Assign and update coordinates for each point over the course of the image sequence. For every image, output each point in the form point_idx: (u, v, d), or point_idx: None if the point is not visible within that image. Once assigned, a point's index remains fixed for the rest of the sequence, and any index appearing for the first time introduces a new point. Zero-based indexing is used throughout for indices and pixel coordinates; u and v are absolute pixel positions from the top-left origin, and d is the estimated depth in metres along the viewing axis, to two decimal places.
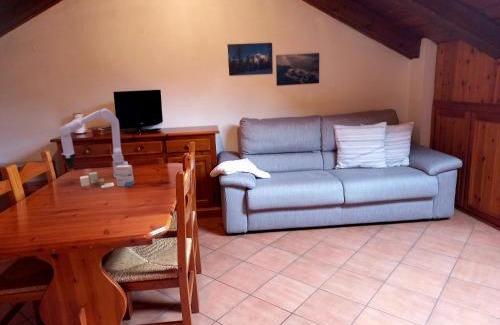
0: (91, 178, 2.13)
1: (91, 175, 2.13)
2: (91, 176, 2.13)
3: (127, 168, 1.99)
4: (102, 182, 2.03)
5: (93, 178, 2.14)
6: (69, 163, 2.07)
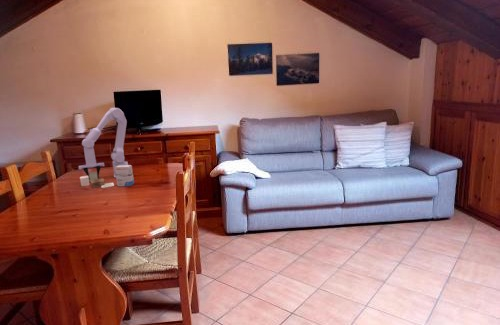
0: (91, 178, 2.13)
1: (91, 175, 2.13)
2: (91, 176, 2.13)
3: (127, 168, 1.98)
4: (102, 182, 2.03)
5: (93, 178, 2.14)
6: None
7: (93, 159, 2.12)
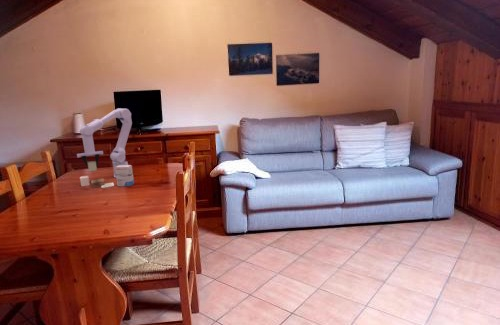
0: (90, 167, 2.09)
1: (90, 164, 2.09)
2: (90, 165, 2.09)
3: (127, 168, 1.98)
4: (102, 182, 2.03)
5: (92, 167, 2.10)
6: None
7: (92, 147, 2.07)
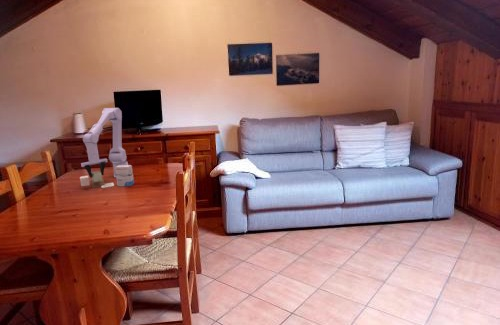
0: (96, 177, 2.02)
1: (95, 174, 2.02)
2: (96, 175, 2.02)
3: (127, 168, 1.98)
4: (102, 182, 2.03)
5: (97, 177, 2.03)
6: (89, 172, 2.01)
7: (97, 155, 2.01)
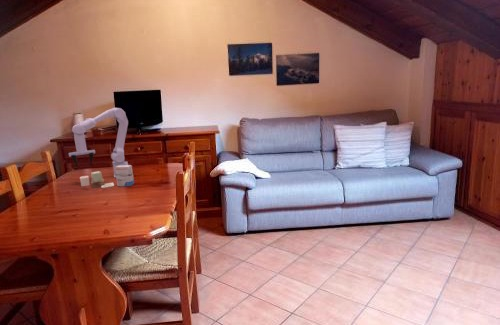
0: (96, 177, 2.02)
1: (95, 174, 2.02)
2: (96, 175, 2.02)
3: (127, 168, 1.99)
4: (102, 182, 2.03)
5: (97, 177, 2.03)
6: None
7: (83, 146, 2.07)
